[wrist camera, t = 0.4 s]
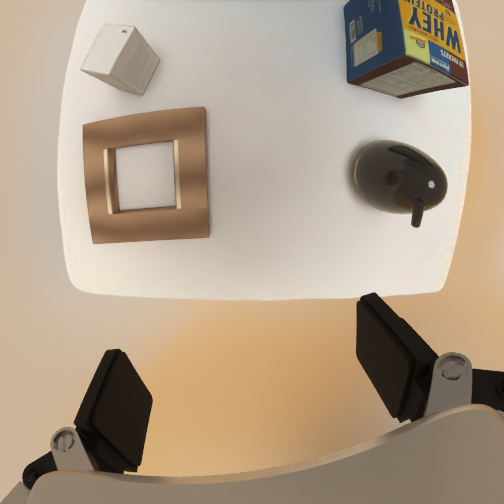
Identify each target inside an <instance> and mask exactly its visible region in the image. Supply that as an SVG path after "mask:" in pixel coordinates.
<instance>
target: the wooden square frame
mask: <svg viewBox="0 0 504 504" xmlns="http://www.w3.org/2000/svg"><path fill="white" fill-rule="evenodd" d="M168 141H173V159H174V181H175V198H176V206H171V207H157V208H144V209H133V210H122V211H119V202H118V191H117V178H116V161H115V148H121V147H127V146H134V145H142V144H150V143H158V142H168ZM83 159H84V176H85V188H86V198H87V207H88V215H89V222H90V229H91V235H92V241H93V244H104V243H120V242H137V241H154V240H173V239H193V238H209V233H210V230H209V211H208V189H207V159H206V110H205V107H194V108H181V109H171V110H163V111H155V112H147V113H140V114H134V115H128V116H122V117H117V118H112V119H107V120H102V121H97V122H93V123H89V124H84V125H83Z"/></svg>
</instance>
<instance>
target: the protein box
mask: <svg viewBox="0 0 504 504" xmlns="http://www.w3.org/2000/svg"><path fill="white" fill-rule="evenodd" d="M344 16H345V30H346V54H347V82H348V83H350V84H354V85H358V86H362V87H366V88H370V89H373V90H376V91H380V92H383V93H386V94H390V95H393V96H396V97H399V98H406V97H410V96H415V95H420V94H424V93H429V92H434V91H439V90H445V89H451V88H457V87H464V86H468V85H469V82H468V73H467V67H466V60H465V53H464V48H463V43H462V38H461V34H460V29H459V25H458V21H457V17H456V14H455V10H454V7H453V3H452V0H350V1H349V2H348V3H347V4H346V5H345V6H344Z"/></svg>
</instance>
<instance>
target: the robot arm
mask: <svg viewBox="0 0 504 504" xmlns="http://www.w3.org/2000/svg"><path fill="white" fill-rule="evenodd" d="M356 337H357V338H356V355H357V358H358V360H359V362H360V364H361V365H362V367H363V369H364V370H365V372H366V374H367V375H368V377H369V378H370V380H371V382H372V384H373V385H374V387H375V388H376V390H377V392H378V394H379V395H380V397H381V399H382V401H383V402H384V404H385V406H386V407H387V409H388V411H389V413H390V414H391V416H392V417H393V418H396V417H397V418H398V420H399V422H400V423H401V422H404V421H405V420H408V419H410V421H411V423H409V424H407V425H405V426H403V427H400V428H398V429H395V430H393V431H391V432H389V433H386V434H384V435H381V436H379V437H376V438H374V439H371V440H369V441H366V442H363V443H360V444H358V445H355V446H352V447H349V448H346V449H343V450H340V451H337V452H334V453H331V454H328V455H324V456H321V457H317V458H314V459H309V460H305V461H302V462H297V463H293V464H288V465H284V466H279V467H274V468H268V469H262V470H256V471H250V472H242V473H234V474H225V475H211V476H191V477H160V476H158V477H157V476H140V475H128V474H124V470H125V471H128V472H137V469H138V466H140V465H141V461H142V455H143V449H144V444H145V438H146V433H147V427H148V422H149V417H150V412H151V407H152V402H153V399H152V395H151V394H150V392H149V391H148V389H147V388H146V386H145V384H144V383H143V381H142V380H141V378H140V377H139V375H138V373H137V372H136V370H135V369H134V367H133V365H132V363H131V362H130V360H129V358H128V357H127V355H126V353H125V352H122V351H121V350H120V349H113V350H107V351H106V352H105V354H104V356H103V358H102V360H101V362H100V364H99V366H98V368H97V370H96V372H95V374H94V377H93V379H92V381H91V383H90V385H89V388H88V390H87V392H86V394H85V397H84V399H83V401H82V404H81V406H80V408H79V411H78V413H77V416H76V418H75V421H74V424H75V425H76V429H73V428H71V427H64V428H61V429H59V430H58V431H56V433H55V434H54V435H53V437H52V439H51V443H50V445H51V450H52V451H50V452H48V453H47V454H45V455H44V456H42V457H40V458H39V459H37V460H35V461H34V462H32V463H30V464H29V465H28V466H27V467H26V468H25V469H24V472H23V476H22V479H23V483H22V482H21V481H20V482H19V483H18V484H17V485H16V486H15V487H14V488H13V490H12V491H11V492H10V493H9V494H8V495H7V496H6V497H5V498H4V499H3V501H2V502H1V504H504V372H500V371H490V370H480V369H472V365H471V362H470V361H469V359H468V358H467V357H466V356H464V355H462V354H460V353H454V352H451V353H446V354H443V355H441V356H440V357H439V356H438V355H437V354H436V353H435V352H434V351H433V350H432V349H431V348H430V346H429V345H428V344H427V343H426V342H425V341H424V340H423V339H422V338H421V337H420V336H419V335H418V334H417V333H416V331H415V330H414V329H413V328H412V327H411V326H410V325H409V324H408V323H407V322H406V321H405V320H404V319H403V318H400V317H399V316H398V315H397V314H396V313H395V312H394V311H393V310H392V309H391V308H390V307H389V306H388V305H387V304H386V303H385V302H384V301H383V300H382V299H381V298H380V297H379V296H378V295H377V294H376V293H370V294H367V295H364V296H361V298H360V301H358V302H357V336H356Z"/></svg>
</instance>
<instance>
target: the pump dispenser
mask: <svg viewBox="0 0 504 504" xmlns="http://www.w3.org/2000/svg"><path fill="white" fill-rule="evenodd" d="M354 177H355V182H356V186H357V188H358V190H359V192H360V194H361V196H362V198H363V199H364V200H365V201H366V203H368V204H369V205H370V206H371V207H373V208H375V209H377V210H380V211H383V212H387V213H393V214H412V220H411V225H412V226H413V227H415V228H418V227H420V224H421V220H422V216H423V212H424V211H427V210H430V209H432V208H434V207H436V206H437V205H439V204H440V203H441V202H442V201H443V199H444V198H445V196H446V193H447V187H448V184H447V178H446V175H445V173H444V171H443V170H442V168H441V167H440V165H439V164H438V163H437V162H436V161H435V160H434V159H433V158H431V157H430V156H429V155H427V154H426V153H425V152H423V151H421V150H420V149H418V148H416V147H414V146H412V145H409V144H406V143H403V142H399V141H394V140H378V141H375V142H373V143H371V144H370V145H368V146H367V147H366V148H365V149H364V150H363V152H362V153H361V154H360V155H359V157H358V159H357V161H356V164H355V170H354Z"/></svg>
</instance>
